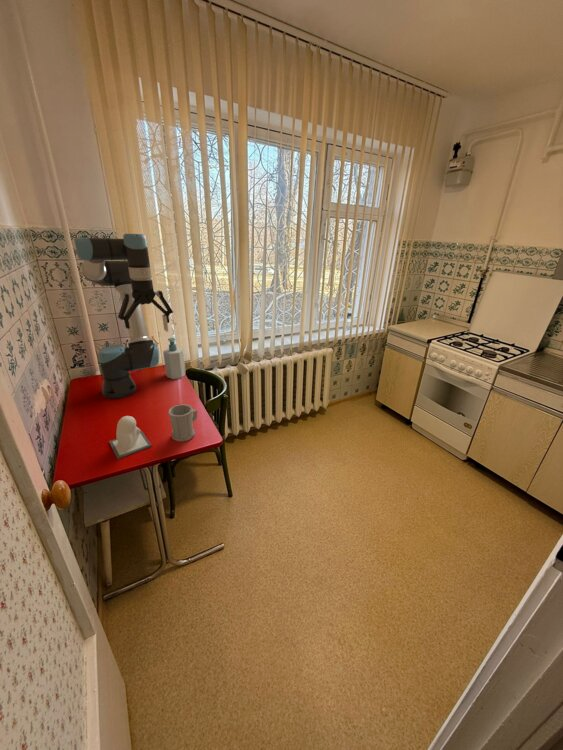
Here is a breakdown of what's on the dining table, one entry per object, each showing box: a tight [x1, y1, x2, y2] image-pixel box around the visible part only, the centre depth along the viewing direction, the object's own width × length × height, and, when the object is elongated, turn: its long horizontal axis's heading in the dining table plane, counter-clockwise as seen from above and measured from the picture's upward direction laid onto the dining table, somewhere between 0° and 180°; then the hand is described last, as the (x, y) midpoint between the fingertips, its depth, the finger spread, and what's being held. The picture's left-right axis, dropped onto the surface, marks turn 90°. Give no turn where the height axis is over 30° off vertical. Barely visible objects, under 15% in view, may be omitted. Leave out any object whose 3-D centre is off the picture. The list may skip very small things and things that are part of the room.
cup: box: [168, 403, 198, 442], centre depth 120 cm, size 10×9×12 cm
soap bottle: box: [162, 337, 186, 380], centre depth 167 cm, size 10×9×22 cm
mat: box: [108, 429, 153, 460], centre depth 115 cm, size 12×12×1 cm
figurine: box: [115, 415, 141, 448], centre depth 112 cm, size 7×8×12 cm
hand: (149, 333), depth 122 cm, fingers open, 13 cm apart
